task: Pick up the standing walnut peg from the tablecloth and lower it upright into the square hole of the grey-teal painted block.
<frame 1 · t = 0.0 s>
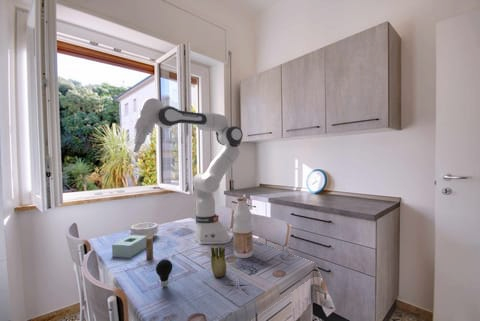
hand: (135, 151, 116), 52 cm above the table, tool tilted 20°, fingers open, 8 cm apart
hole block: (130, 251, 117), on the table
paper bowls: (144, 238, 137), on the table
fennel bulb: (219, 276, 91), on the table
walnut peg: (149, 258, 108), on the table
fruit juice: (243, 255, 110), on the table
light bulb: (164, 287, 84), on the table
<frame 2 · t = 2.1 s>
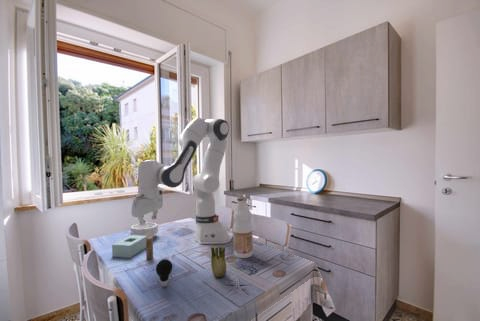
hand: (148, 221, 108), 18 cm above the table, tool pointing down, fingers open, 8 cm apart
nothing on the table moved.
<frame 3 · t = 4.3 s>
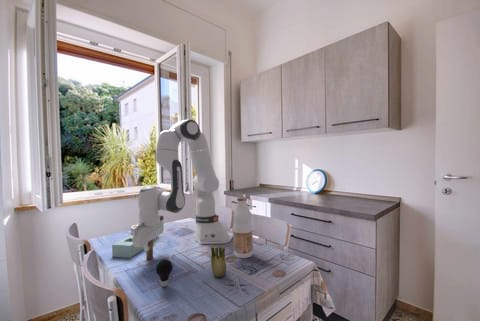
hand: (149, 248, 108), 5 cm above the table, tool pointing down, fingers closed on walnut peg, 3 cm apart
walnut peg: (149, 258, 108), on the table, touching gripper
everything else where it was.
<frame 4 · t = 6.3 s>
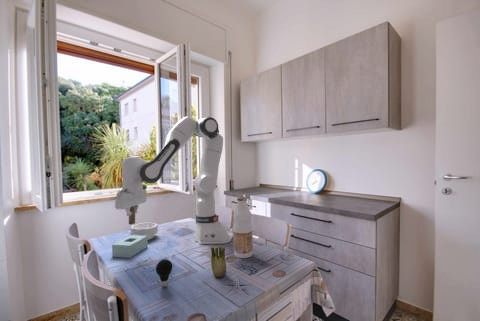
hand: (132, 214, 115), 20 cm above the table, tool pointing down, fingers closed on walnut peg, 3 cm apart
walnut peg: (131, 223, 115), point 15 cm above the table, touching gripper
everything else where it was.
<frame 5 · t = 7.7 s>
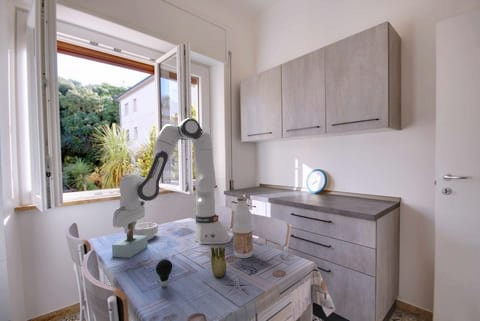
hand: (130, 231, 117), 11 cm above the table, tool pointing down, fingers closed on walnut peg, 3 cm apart
walnut peg: (129, 239, 117), point 6 cm above the table, touching gripper
everything else where it was.
when the fingers open (7 cm above the table, at t = 8.6 s): walnut peg drops 3 cm, resting in hole block.
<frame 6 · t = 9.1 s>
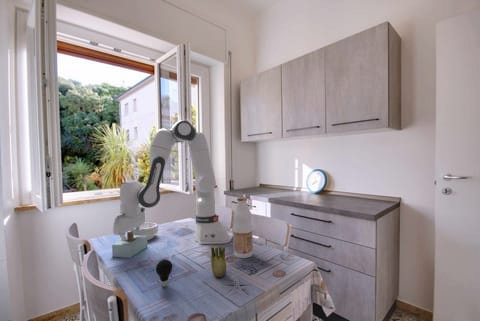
hand: (130, 237, 117), 7 cm above the table, tool pointing down, fingers open, 8 cm apart
walnut peg: (130, 251, 117), resting in hole block
everything else where it was.
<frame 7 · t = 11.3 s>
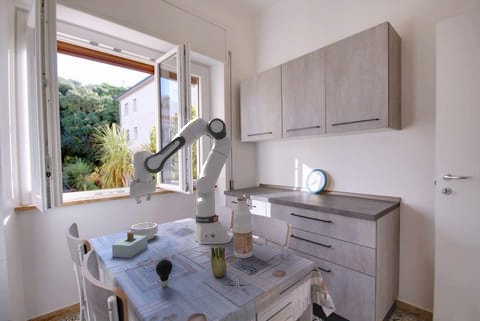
hand: (144, 202, 129), 23 cm above the table, tool pointing down, fingers open, 8 cm apart
nothing on the table moved.
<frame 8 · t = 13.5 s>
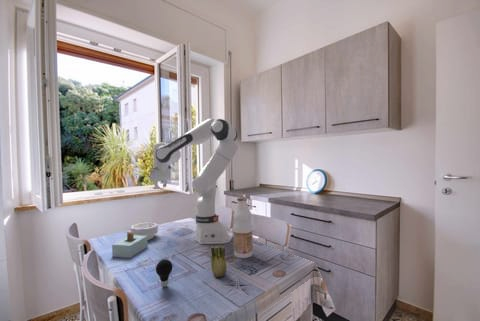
hand: (160, 187, 148), 29 cm above the table, tool pointing down, fingers open, 8 cm apart
nothing on the table moved.
at the end: walnut peg 0.1 cm off-centre on the hole block, point 0.0 cm above the hole block's base; walnut peg tilted 0°; the gripper is holding nothing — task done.
